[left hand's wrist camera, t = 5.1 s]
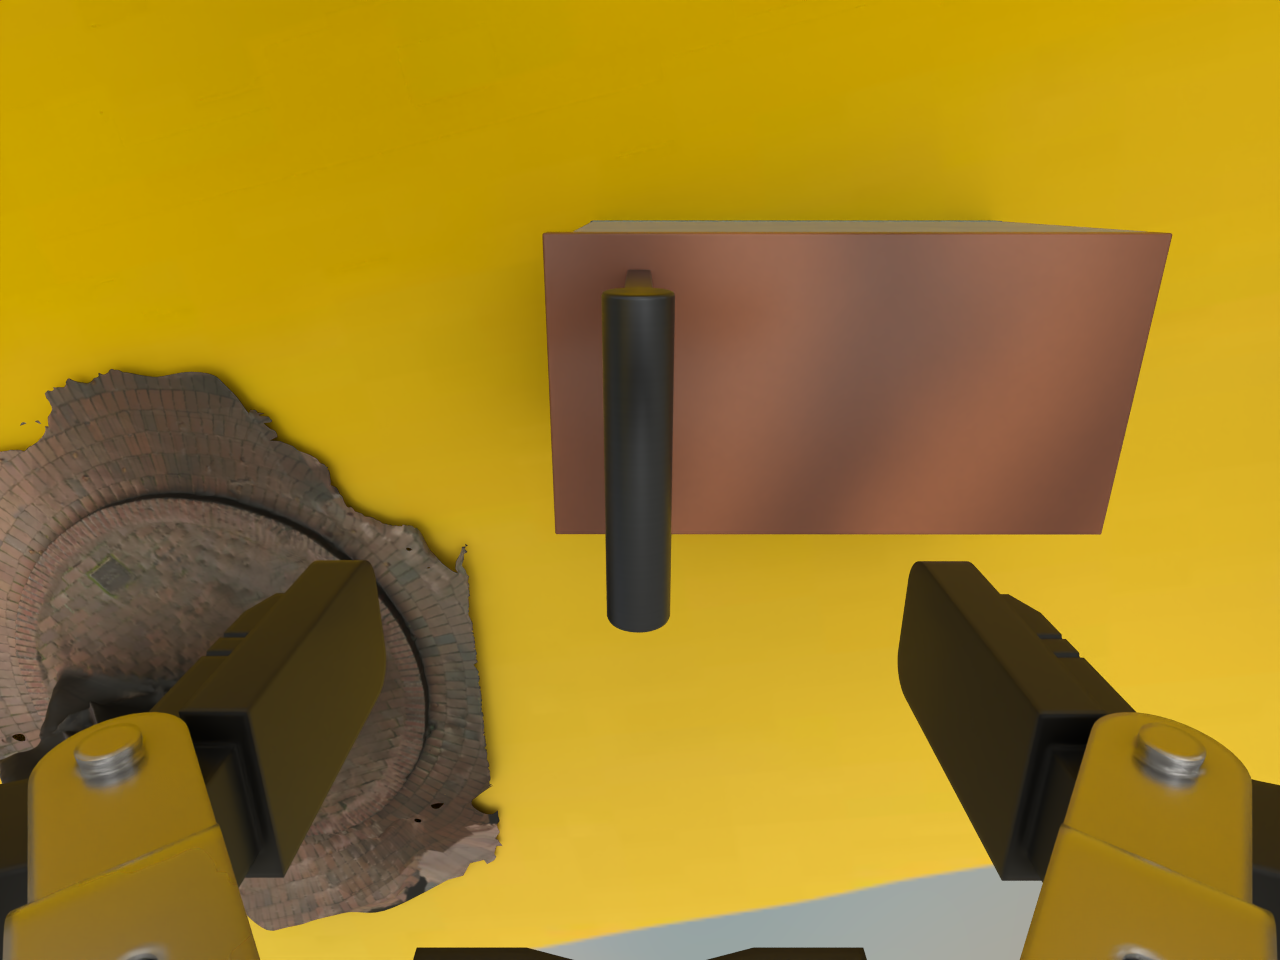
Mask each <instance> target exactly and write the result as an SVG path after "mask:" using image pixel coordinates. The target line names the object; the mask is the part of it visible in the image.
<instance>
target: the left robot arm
mask: <svg viewBox="0 0 1280 960" xmlns="http://www.w3.org/2000/svg"><path fill="white" fill-rule="evenodd" d="M385 671H386V649H385V642H384V634H383V627H382V620H381V613H380V606H379V599H378V591H377V584H376V577H375V573H374V569H373V567H372V565H371V563H370V562H369V561H367V560H316V561H314V562H312V563H311V564H310V565H309V566H308V568H307V569H306V570H305V571H304V572H303V573H302V574H301V575H300V576H299V578H298V579H297V580H296V581H295V582H294V583H293V584H292V585H291V586H290V588H289V589H288V590H287V591H286V592H285V593H275V594H274V595H272V596H270V597H269V598H267V599H265V600H263V601H262V602H260V603H258V604H256V605H255V606H253V607H251V608H250V609H248V610H246V611H244V612H243V613H242V614H241V616H240V617H239V618H238V619H237V620H236V621H235V622H234V623H233V624H232V625H231V626H230V627H229V628H228V629H227V630H226V631H225V632H224V637H223V638H219V639H218V640H217V641H216V642H215V643H214V644H213V645H212V646H211V647H210V648H209V649H208V650H207V651H206V656H201V657H200V658H199V660H198V661H197V662H196V663H195V664H194V665H193V666H192V667H191V668H190V669H189V670H188V671H187V672H186V673H185V674H184V675H183V676H182V677H181V678H180V679H179V681H178V682H177V683H176V684H175V685H174V686H173V687H172V688H171V689H170V690H169V691H168V692H167V693H166V694H165V695H164V696H163V697H162V698H161V699H160V700H159V701H158V703H157V704H156V705H155V706H154V707H153V708H152V709H151V710H150V711H149V712H144V713H136V714H130V715H125V716H120V717H117V718H113V719H110V720H106V721H104V722H101V723H98V724H96V725H93V726H91V727H89V728H86V729H84V730H82V731H80V732H78V733H76V734H75V735H73V736H71V737H69V738H67V739H66V740H64V741H63V742H61V743H60V744H58V745H57V746H56V747H54V748H53V749H52V750H51V751H49V752H48V753H47V754H46V755H45V756H44V757H43V758H42V759H41V760H40V761H39V762H38V763H37V765H36V766H35V767H34V769H33V770H32V773H31V775H30V777H29V778H28V779H23V780H19V781H14V782H9V783H4V784H0V960H260V958H259V954H258V951H257V948H256V944H255V941H254V938H253V934H252V931H251V928H250V924H249V921H248V918H247V915H246V911H245V908H244V905H243V901H242V898H241V895H240V891H239V887H240V885H241V883H242V882H243V880H244V878H284V877H285V875H286V873H287V871H288V869H289V867H290V865H291V863H292V861H293V859H294V857H295V856H296V854H297V852H298V850H299V848H300V846H301V844H302V842H303V840H304V838H305V836H306V834H307V833H308V831H309V829H310V827H311V825H312V823H313V821H314V819H315V817H316V815H317V813H318V812H319V810H320V808H321V806H322V804H323V802H324V800H325V798H326V796H327V794H328V792H329V791H330V789H331V787H332V785H333V783H334V781H335V779H336V777H337V775H338V773H339V771H340V769H341V768H342V766H343V764H344V762H345V760H346V758H347V756H348V754H349V752H350V750H351V748H352V747H353V745H354V743H355V741H356V739H357V737H358V735H359V733H360V731H361V729H362V727H363V725H364V724H365V722H366V720H367V718H368V716H369V714H370V712H371V710H372V708H373V706H374V704H375V703H376V701H377V699H378V697H379V695H380V692H381V690H382V687H383V683H384V678H385ZM898 674H899V680H900V685H901V688H902V691H903V694H904V696H905V698H906V700H907V702H908V704H909V706H910V708H911V710H912V712H913V713H914V715H915V717H916V719H917V721H918V723H919V725H920V727H921V729H922V730H923V732H924V734H925V736H926V738H927V740H928V742H929V744H930V746H931V747H932V749H933V751H934V753H935V755H936V757H937V759H938V761H939V763H940V764H941V766H942V768H943V770H944V772H945V774H946V776H947V778H948V780H949V781H950V783H951V785H952V787H953V789H954V791H955V793H956V795H957V797H958V798H959V800H960V802H961V804H962V806H963V808H964V810H965V812H966V814H967V815H968V817H969V819H970V821H971V823H972V825H973V827H974V829H975V831H976V832H977V834H978V836H979V838H980V840H981V842H982V844H983V846H984V848H985V849H986V851H987V853H988V855H989V857H990V859H991V861H992V863H993V865H994V866H995V868H996V870H997V872H998V874H999V876H1000V878H1001V880H1003V881H1042V882H1043V885H1042V888H1041V892H1040V895H1039V898H1038V901H1037V905H1036V908H1035V911H1034V915H1033V918H1032V921H1031V924H1030V928H1029V931H1028V934H1027V938H1026V941H1025V944H1024V948H1023V951H1022V954H1021V958H1020V960H1280V785H1275V784H1271V783H1266V782H1261V781H1256V780H1252V779H1251V777H1250V775H1249V773H1248V770H1247V769H1246V767H1245V766H1244V765H1243V763H1242V762H1241V761H1240V760H1239V759H1238V758H1237V757H1236V756H1235V755H1234V754H1233V753H1232V752H1231V751H1229V750H1228V749H1227V748H1226V747H1224V746H1223V745H1222V744H1220V743H1219V742H1217V741H1216V740H1214V739H1213V738H1211V737H1209V736H1207V735H1205V734H1204V733H1202V732H1200V731H1198V730H1196V729H1194V728H1191V727H1189V726H1187V725H1184V724H1182V723H1179V722H1176V721H1174V720H1170V719H1167V718H1163V717H1160V716H1155V715H1150V714H1144V713H1136V711H1135V710H1134V709H1133V708H1132V707H1131V706H1130V705H1129V704H1128V703H1127V702H1126V701H1125V700H1124V699H1123V698H1122V697H1121V696H1120V695H1119V694H1118V693H1117V692H1116V691H1115V690H1114V689H1113V688H1112V687H1111V686H1110V684H1109V683H1108V682H1107V681H1106V680H1105V679H1104V678H1103V677H1102V676H1101V675H1100V674H1099V673H1098V672H1097V671H1096V670H1095V669H1094V668H1093V667H1092V666H1091V665H1090V664H1089V663H1088V662H1087V661H1086V660H1085V659H1084V658H1080V657H1079V652H1078V651H1077V650H1076V649H1075V648H1074V647H1073V646H1072V645H1071V644H1070V643H1069V642H1068V641H1067V640H1066V639H1062V635H1061V634H1060V633H1059V631H1058V630H1057V629H1056V628H1055V627H1054V626H1053V625H1052V624H1051V623H1050V622H1049V621H1048V620H1047V619H1046V618H1045V617H1044V616H1043V615H1042V614H1041V613H1040V612H1038V611H1036V610H1035V609H1033V608H1031V607H1029V606H1028V605H1026V604H1024V603H1023V602H1021V601H1019V600H1017V599H1016V598H1014V597H1012V596H1010V595H1009V594H1000V593H999V592H998V591H997V590H996V589H995V588H994V587H993V586H992V585H991V584H990V582H989V581H988V580H987V579H986V578H985V577H984V576H983V575H982V574H981V573H980V571H979V570H978V569H977V568H976V567H975V566H974V565H973V564H972V563H970V562H967V561H918V562H916V563H915V564H914V565H913V566H912V568H911V571H910V574H909V579H908V586H907V593H906V600H905V607H904V614H903V621H902V628H901V635H900V642H899V649H898ZM413 960H572V959H568V958H564V957H560V956H556V955H552V954H549V953H545V952H541V951H537V950H534V949H530V948H417V949H416V952H415V955H414V959H413ZM708 960H867V959H866V955H865V952H864V949H863V948H750V949H747V950H743V951H739V952H735V953H731V954H727V955H724V956H720V957H716V958H712V959H708Z"/></svg>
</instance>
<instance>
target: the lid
mask: <svg viewBox="0 0 1280 960" xmlns="http://www.w3.org/2000/svg"><path fill="white" fill-rule="evenodd" d="M1171 238H1172V234H1171V233H1160V232H546V233H543V258H544V281H545V304H546V327H547V350H548V373H549V396H550V419H551V442H552V465H553V488H554V511H555V533H556V534H606V584H607V617H608V619H609V621H610V623H611V624H612V625H613V626H615V627H616V628H619V629H621V630H624V631H628V632H648V631H653V630H656V629H658V628H660V627H662V626H663V625H665V624H666V623H667V621H668V619H669V617H670V580H671V534H1101V532H1102V528H1103V524H1104V520H1105V516H1106V511H1107V507H1108V503H1109V499H1110V494H1111V490H1112V486H1113V482H1114V478H1115V473H1116V469H1117V465H1118V461H1119V457H1120V452H1121V448H1122V444H1123V440H1124V436H1125V431H1126V427H1127V423H1128V419H1129V415H1130V410H1131V406H1132V402H1133V398H1134V394H1135V389H1136V385H1137V381H1138V377H1139V372H1140V368H1141V364H1142V360H1143V356H1144V351H1145V347H1146V343H1147V339H1148V335H1149V330H1150V326H1151V322H1152V318H1153V314H1154V309H1155V305H1156V301H1157V297H1158V293H1159V288H1160V284H1161V280H1162V276H1163V272H1164V267H1165V263H1166V259H1167V255H1168V251H1169V246H1170V242H1171Z"/></svg>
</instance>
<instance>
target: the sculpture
mask: <svg viewBox="0 0 1280 960" xmlns="http://www.w3.org/2000/svg"><path fill="white" fill-rule="evenodd" d="M53 388H54V387H53ZM45 395H46V398H47V399H48V400H49V402H50V404H51V406H52V412H51V413H50V415H49V416H48V424H49V427H47V426H45V428H46V431H45V433H44V435H43V436H42V438H41V439H40V440H39V441H38V442H37V443H35V444H34V445H32V446H30V447H29V448H27V450H26V451H21V450H9V451H3V452H0V779H1V781H2V784H4V783H9V782H14V781H19V780H23V779H28V778H29V777H30V775H31V773H32V770H33V769H34V767H35V766H36V765H37V763H38V762H39V761H40V760H41V759H42V758H43V757H44V756H45V755H46V754H47V753H48V752H49V751H51V750H52V749H53V748H54V747H56V746H57V745H58V744H60V743H61V742H63V741H64V740H66V739H67V738H69V737H71V736H73V735H75V734H76V733H78V732H80V731H82V730H84V729H86V728H89V727H91V726H93V725H96V724H98V723H101V722H104V721H106V720H110V719H113V718H117V717H120V716H125V715H130V714H136V713H144V712H149V711H150V710H151V709H152V708H153V707H154V706H155V705H156V704H157V703H158V701H159V700H160V699H161V698H162V697H163V696H164V695H165V694H166V693H167V692H168V691H169V690H170V689H171V688H172V687H173V686H174V685H175V684H176V683H177V682H178V681H179V679H180V678H181V677H182V676H183V675H184V674H185V673H186V672H187V671H188V670H189V669H190V668H191V667H192V666H193V665H194V664H195V663H196V662H197V661H198V660H199V658H200V657H201V656H206V651H207V650H208V649H209V648H210V647H211V646H212V645H213V644H214V643H215V642H216V641H217V640H218V639H219V638H223V637H224V632H225V631H226V630H227V629H228V628H229V627H230V626H231V625H232V624H233V623H234V622H235V621H236V620H237V619H238V618H239V617H240V616H241V614H242V613H243V612H244V611H246V610H248V609H250V608H251V607H253V606H255V605H256V604H258V603H260V602H262V601H263V600H265V599H267V598H269V597H270V596H272V595H274V594H275V593H285V592H286V591H287V590H288V589H289V588H290V586H291V585H292V584H293V583H294V582H295V581H296V580H297V579H298V578H299V576H300V575H301V574H302V573H303V572H304V571H305V570H306V569H307V568H308V566H309V565H310V564H311V563H312V562H314V561H316V560H367V561H369V562H370V563H371V565H372V567H373V569H374V573H375V577H376V584H377V591H378V599H379V606H380V613H381V620H382V627H383V634H384V642H385V649H386V671H385V678H384V683H383V687H382V690H381V692H380V695H379V697H378V699H377V701H376V703H375V704H374V706H373V708H372V710H371V712H370V714H369V716H368V718H367V720H366V722H365V724H364V725H363V727H362V729H361V731H360V733H359V735H358V737H357V739H356V741H355V743H354V745H353V747H352V748H351V750H350V752H349V754H348V756H347V758H346V760H345V762H344V764H343V766H342V768H341V769H340V771H339V773H338V775H337V777H336V779H335V781H334V783H333V785H332V787H331V789H330V791H329V792H328V794H327V796H326V798H325V800H324V802H323V804H322V806H321V808H320V810H319V812H318V813H317V815H316V817H315V819H314V821H313V823H312V825H311V827H310V829H309V831H308V833H307V834H306V836H305V838H304V840H303V842H302V844H301V846H300V848H299V850H298V852H297V854H296V856H295V857H294V859H293V861H292V863H291V865H290V867H289V869H288V871H287V873H286V875H285V877H284V878H244V880H243V882H242V883H241V885H240V887H239V891H240V895H241V898H242V901H243V905H244V908H245V911H246V915H247V916H248V917H249V918H251V919H252V920H253V921H254V922H255V923H256V924H258V925H259V926H261V927H262V928H264V929H266V930H272V931H274V930H278V929H282V928H286V927H290V926H296V925H300V924H304V923H307V922H309V921H312V920H316V919H319V918H324V917H328V916H333V915H337V914H341V913H346V912H366V913H373V912H380V911H384V910H387V909H390V908H393V907H395V906H398V905H400V904H402V903H404V902H406V901H408V900H410V899H412V898H414V897H416V896H418V895H420V894H422V893H424V892H426V891H428V890H429V889H431V888H433V887H435V886H437V885H439V884H441V883H442V882H444V881H446V880H448V879H452V878H456V877H459V876H463V875H464V873H465V871H466V869H467V867H468V866H469V864H470V863H472V862H476V861H481V860H485V862H486V863H487V864H488V863H490V862H492V861H493V860H495V858H496V856H495V855H494V852H495V849H496V846H502V845H501V844H500V843H499V841H498V840H497V839H495V838H496V836H497V835H498V834H499V830H498V827H497V824H498V822H499V817H498V811H497V812H496V813H494V814H484V813H482V812H480V811H478V810H476V809H475V808H474V807H473V806H472V804H471V802H472V800H473V799H474V798H476V797H477V796H478V795H479V794H481V793H482V792H483V791H485V790H486V789H488V788H489V786H490V785H492V784H490V785H489V781H490V771H489V769H488V767H489V763H488V761H487V752H486V749H485V746H486V743H485V736H484V735H483V734H484V733H485V732H483V731H484V724H483V722H484V721H483V712H481V710H482V708H481V705H482V704H481V701H482V699H481V691H480V686H479V683H478V682H479V676H478V670H477V669H476V667H475V666H474V664H475V663H477V660H476V654H477V653H476V649H474V648H475V645H474V644H475V641H474V636H473V634H474V633H473V632H472V630H473V628H472V621H471V620H470V617H469V615H468V612H469V610H468V607H469V601H468V597H469V596H470V595H469V589H468V588H469V584H468V578H469V576H468V575H467V574H466V571H465V569H464V568H463V567H462V563H463V560H464V553H466V552H467V551H466V550H465V547H462V551H461V553H460V555H459V557H458V559H457V561H456V568H455V569H456V570H457V572H458V573H455V572H453V571H452V570H450V569H449V568H447V567H446V566H445V565H444V564H442V563H441V562H440V561H439V560H438V558H437V557H436V556H435V555H434V554H433V553H432V552H431V550H430V549H429V548H428V546H427V544H426V542H425V540H424V538H423V536H422V534H421V532H420V531H419V530H418V529H417V528H414V527H413V526H409V525H408V526H406V525H402V526H396V525H395V526H392V525H387V524H383V523H381V522H380V521H378V520H375V519H374V518H372V517H365V516H364V515H363V514H362V513H358V512H355V511H354V509H353V508H352V507H350V508H349V507H347V506H346V505H345V503H344V501H343V497H342V496H341V495H340V493H339V491H338V489H337V488H336V487H334V486H331V480H330V473H329V471H328V470H327V468H328V467H326V466H325V465H324V464H321V463H320V462H319V461H318V460H317V459H316V458H314V457H313V456H311V455H309V454H306V453H303V452H300V451H298V450H297V449H296V448H294V447H293V446H291V445H288V444H286V443H283V442H281V441H270V440H272V439H274V438H276V437H277V433H276V432H275V431H274V430H272V429H270V428H268V427H267V426H266V425H265V424H264V423H268V422H271V421H272V420H271V419H270V418H269V417H266V416H259V415H260V414H264V413H257V411H256V410H250V412H249V413H248V412H247V411H246V409H245V408H244V406H243V405H242V403H241V402H240V401H239V399H238V398H237V397H236V396H235V395H234V393H233V392H232V391H231V390H229V389H228V388H227V387H226V386H225V385H224V384H223V383H222V382H221V380H219V379H218V378H217V377H216V376H214V375H211V374H207V373H201V372H184V373H177V374H172V375H167V376H162V377H148V376H142V375H136V374H132V373H125V372H121V371H119V370H113V369H111V370H109V372H108V373H107V374H105V375H102V374H100V373H99V377H97V378H94V379H93V380H92V381H91V382H90V383H81V382H76V381H73V380H71V379H67V381H66V386H65V387H57V388H54V390H53V391H47V392H46V393H45ZM35 422H37V423H40V422H39V421H35ZM23 424H26V423H24V422H23V423H21V425H23ZM40 424H41V423H40ZM21 425H20V426H21ZM465 545H466V544H465ZM466 546H468V545H466ZM406 548H411V549H412V550H411V551H407V550H406ZM428 567H430V568H428ZM15 734H23V735H24V736H25V738H26V740H25V741H18V740H15V739H14V738H13V737H12V736H13V735H15ZM492 786H493V785H492ZM490 787H491V786H490ZM436 803H444V805H442V806H441V807H440V808H438V809H434V808H432V807H431V805H432V804H436ZM415 819H420V820H421V822H420V823H418V822H415V821H414V820H415Z"/></svg>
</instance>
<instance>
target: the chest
mask: <svg viewBox="0 0 1280 960" xmlns="http://www.w3.org/2000/svg"><path fill="white" fill-rule="evenodd" d="M573 232H1144V231H1130V230H1115V229H1101V228H1086V227H1072V226H1057V225H1043V224H1028V223H1014V222H1002V221H591V223H589V224H587V225H585V226H583V227H581V228H579V229H577V230H575V231H573Z"/></svg>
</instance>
